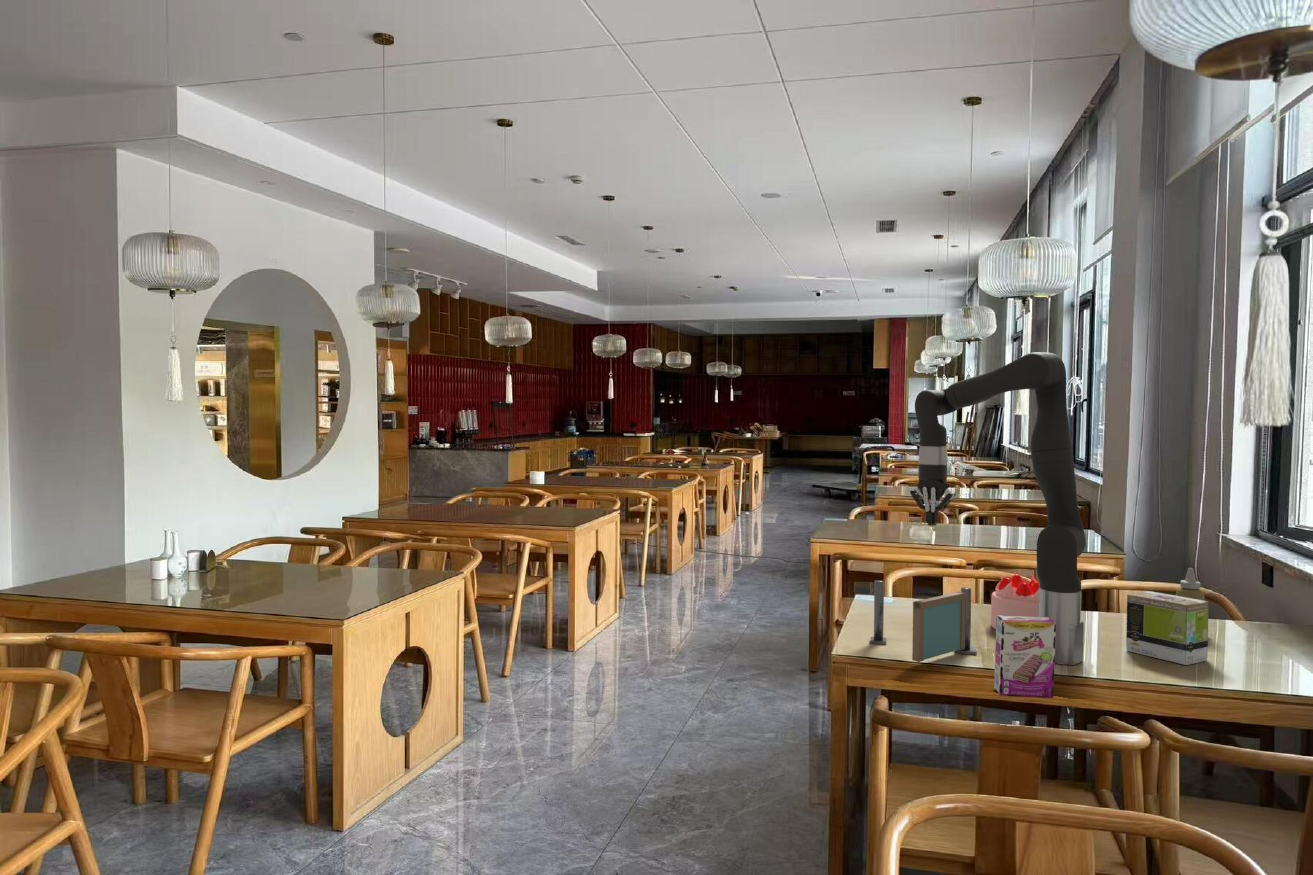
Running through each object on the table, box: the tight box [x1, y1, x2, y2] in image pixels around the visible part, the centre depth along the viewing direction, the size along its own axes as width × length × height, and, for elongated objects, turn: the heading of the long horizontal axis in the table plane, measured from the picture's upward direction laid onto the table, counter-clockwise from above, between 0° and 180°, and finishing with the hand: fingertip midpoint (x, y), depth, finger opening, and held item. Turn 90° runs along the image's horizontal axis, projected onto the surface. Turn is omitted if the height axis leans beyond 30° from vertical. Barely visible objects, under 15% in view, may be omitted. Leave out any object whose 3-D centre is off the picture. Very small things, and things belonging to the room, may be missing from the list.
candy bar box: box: [993, 615, 1056, 699], centre depth 183 cm, size 11×5×16 cm, turn 84°
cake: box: [990, 574, 1039, 630], centre depth 238 cm, size 20×20×14 cm
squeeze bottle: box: [1175, 567, 1206, 601], centre depth 234 cm, size 8×8×18 cm
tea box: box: [1125, 590, 1209, 666], centre depth 213 cm, size 15×10×15 cm, turn 30°
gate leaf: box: [911, 591, 966, 663], centre depth 209 cm, size 19×2×14 cm, turn 128°
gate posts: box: [869, 579, 978, 656], centre depth 220 cm, size 26×7×16 cm, turn 74°
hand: (932, 525), depth 237 cm, fingers closed
